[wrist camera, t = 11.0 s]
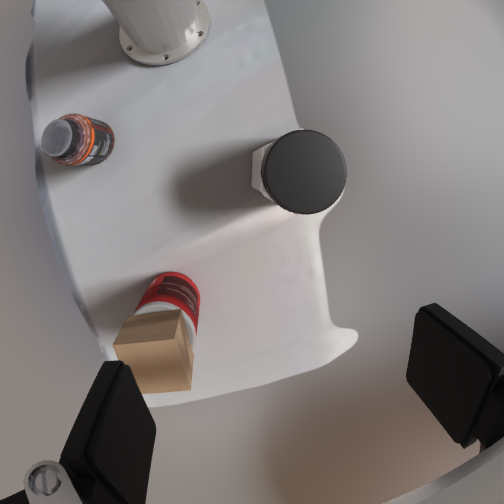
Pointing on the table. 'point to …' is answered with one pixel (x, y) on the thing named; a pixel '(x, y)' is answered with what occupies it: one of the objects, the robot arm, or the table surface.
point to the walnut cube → (157, 351)
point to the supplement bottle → (78, 140)
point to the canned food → (173, 299)
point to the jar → (300, 171)
